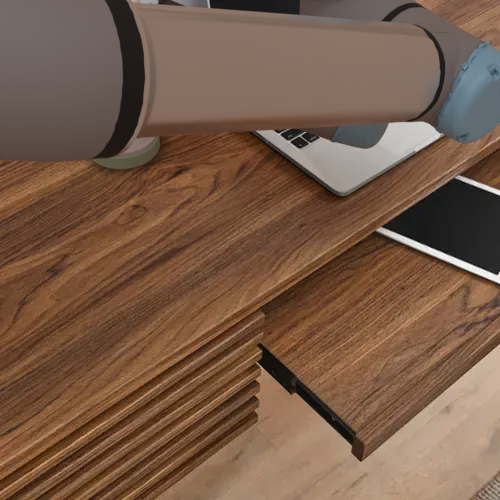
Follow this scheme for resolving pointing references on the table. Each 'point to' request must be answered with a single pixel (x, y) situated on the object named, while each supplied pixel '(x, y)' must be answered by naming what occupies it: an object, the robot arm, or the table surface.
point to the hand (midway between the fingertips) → (73, 20)
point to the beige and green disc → (133, 154)
